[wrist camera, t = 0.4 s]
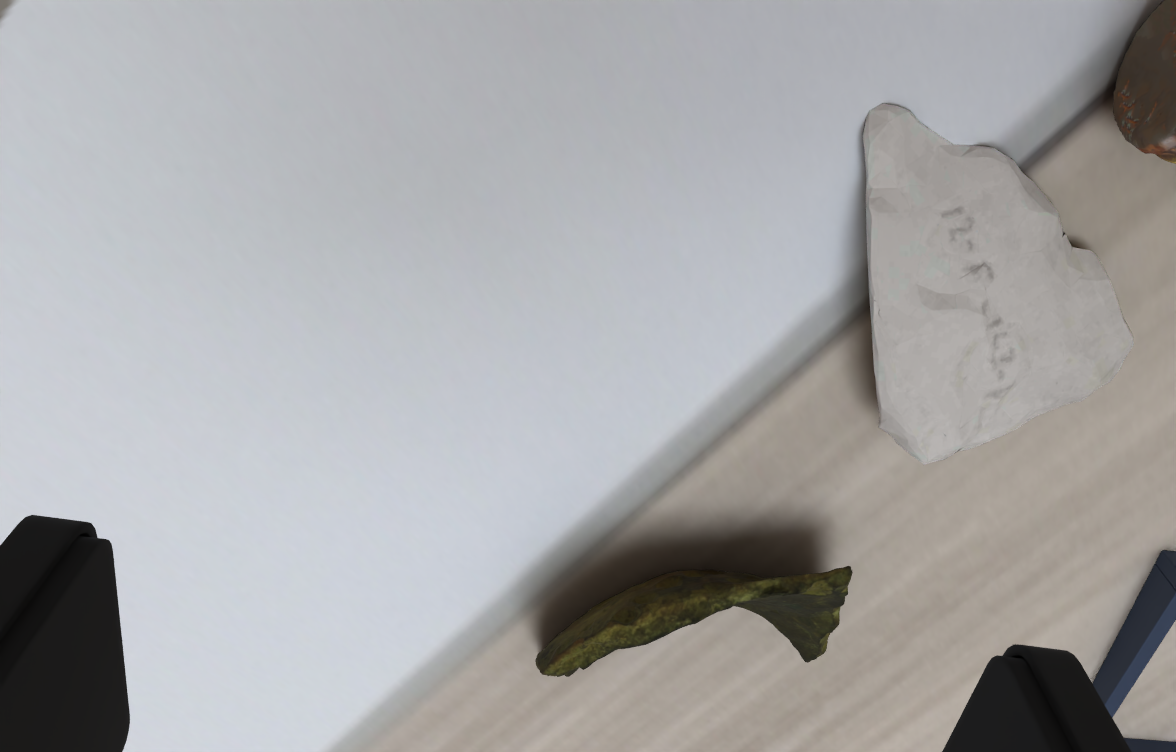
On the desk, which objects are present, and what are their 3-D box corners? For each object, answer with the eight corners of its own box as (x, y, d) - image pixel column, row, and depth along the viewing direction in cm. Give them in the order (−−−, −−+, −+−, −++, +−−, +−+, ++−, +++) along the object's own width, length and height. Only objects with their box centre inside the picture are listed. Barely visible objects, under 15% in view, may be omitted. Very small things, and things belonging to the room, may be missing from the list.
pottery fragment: (545, 720, 49) (534, 639, 51) (811, 674, 51) (790, 597, 53) (534, 667, 38) (520, 564, 40) (881, 609, 39) (851, 512, 41)
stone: (1084, 351, 43) (962, 37, 38) (1158, 374, 39) (1031, 27, 34) (886, 478, 42) (736, 177, 37) (940, 515, 38) (780, 183, 33)
